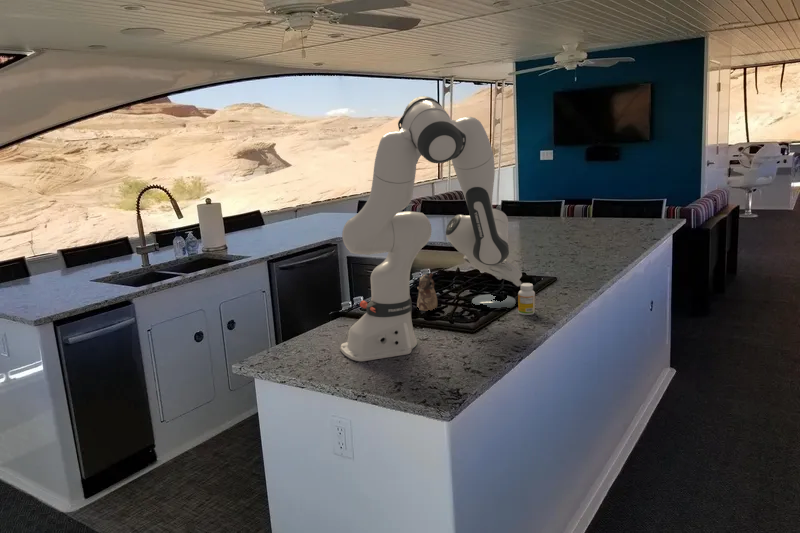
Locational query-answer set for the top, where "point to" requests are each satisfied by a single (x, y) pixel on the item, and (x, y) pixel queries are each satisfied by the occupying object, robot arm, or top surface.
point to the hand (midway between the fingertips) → (509, 281)
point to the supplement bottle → (526, 299)
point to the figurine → (426, 293)
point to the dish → (487, 298)
